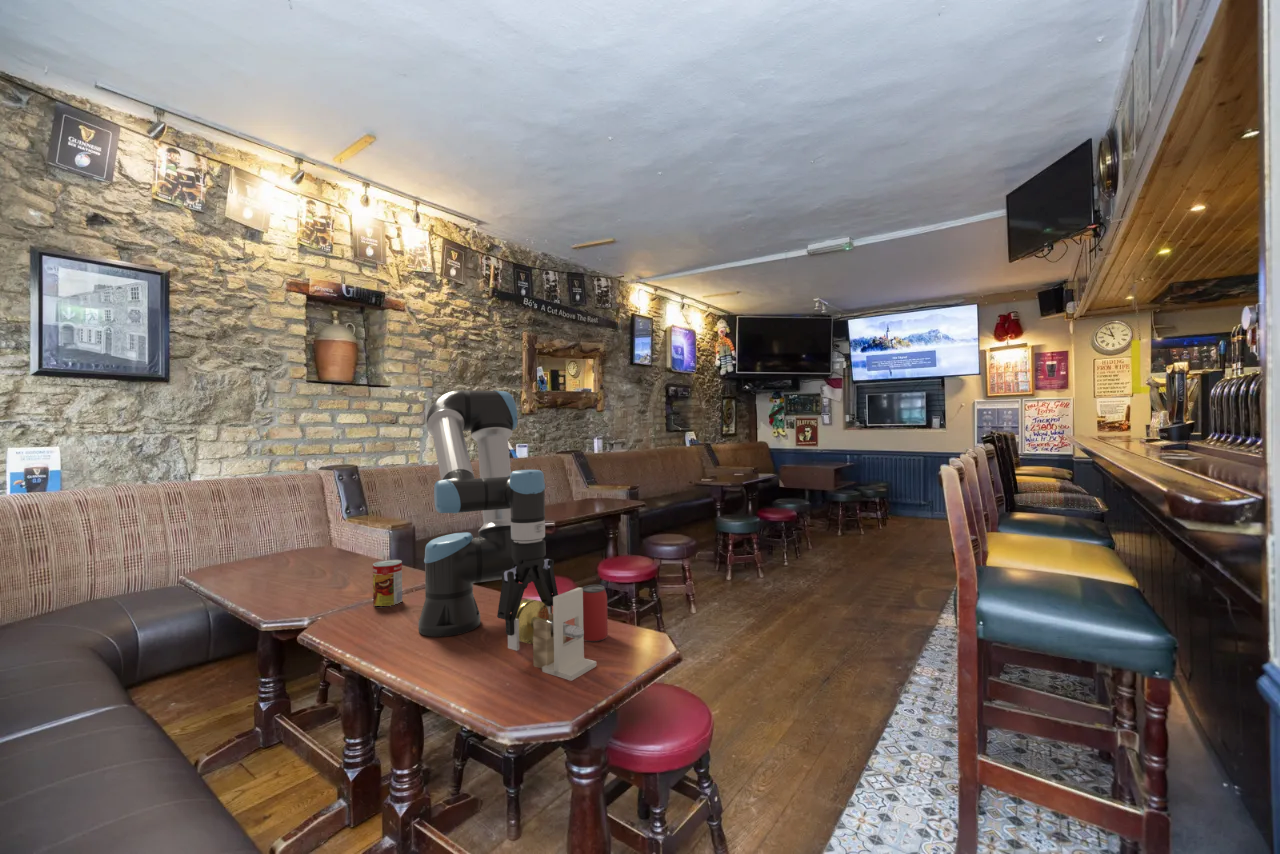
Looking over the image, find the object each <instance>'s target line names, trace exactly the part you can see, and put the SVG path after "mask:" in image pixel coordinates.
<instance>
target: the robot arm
mask: <svg viewBox="0 0 1280 854" xmlns="http://www.w3.org/2000/svg"><path fill="white" fill-rule="evenodd" d="M517 426H518V409H517V405H516V401H515V399H514V397H513V395H512V394H511V393H510V392H508V391H506V390H505V391H504V390H502V391H501V390H495V389H493V390H468V389H467V390H463V389H456V390H452V391H448V392H446V393H444V394H442V395H441V396H439V397H438V398H437V399H436V400H434V401H433V403H432V405H431V406H430V407H429V409H428V411H427V414H426V427H427V430H428V433H429V434H430V435H431V436H432V438H433V443H434V449H435V454H436V460H437V465H438V470H439V477H440V480H436V482H435V483H434V487H433V500H434V508H435V510H436V512H437V513H439V514H459V513H460V514H461V513H470V512H481V511H482V521H483V525H482V526H481V527H480V528H479V529H478V533H477V534H478V537H473V534H472V533H471V532H467V531H466V532H465V531H464V532H455V533H451V534H446V535H442V536H438V537H436V538H433V539H431V540H430V541H429V542H428V543H426V545H425V548H424V559H423V562H424V564H425V566H424V568H425V569H424V571H425V572H424V574H425V575H424V577H425V578H424V579H425V583H424V584H425V585H424V587H425V588H424V589H425V591H424V592H425V597H424V599H425V600H424V603H423V607H422V609H421V613H420V617H419V619H418V633H419V634H420V635H423V636H426V637H434V638H439V637H440V638H441V637H443V638H444V637H452V636H458V635H462V634H465V633H468V632H470V631H474V630H475V629H477V628H478V627H479V626H480V625H481V613H480V610H479V607H478V604H477V601H476V598H475V597H474V584H475V583H483V582H492V581H499V580H501V581H502V582H501V588H500V595H499V601H498V602H499V603H498V608H497V615H496V616H497V618H498V619H502V620H505V621H504V622H505V635H507V649H510V650H513V651H516V652H517V651H519V650H520V641H519V619H517V618H516V616H517V612H518V609H519V606H520V603H521V601H523V596H524V593H525V590H526V589H527V588H528V585H529V584H531V583H533V585H534V587H535V590H536V592H537V594H538V597H539V599H540V601H541V602H543V603H544V604H545V605H546V607H547V609H548V613H549V614H551V613H553V597H555V596H557V595H559V593H558V588H557V583H556V581H557V580H556V577H555V571H554V568H555V567H554V566H555V565H554V564H555V560H554V559H550V558H545V556H546V554H547V552H546V548H547V547H546V543H547V542H546V540H545V539H544V538H545V537H546V506H545V505H546V500H545V499H546V492H545V489H546V482H545V475H544V472H543V471H542V470H540V469H519V470H518V469H517V470H513V471H512V470H511V458H510V447H509V439H510V438H511V437H512V436H513V431H514V430H516V429H517ZM463 431H470V436H471V438H472V440H473V441H475V442H476V444H477V455H478V468H479V478H477V477H475V475H474V474H475V473H474V470H473V467H472V462H471V459H470V458H471V457H470V454H469V451H468V446H467V442H466V438H465V435H464V432H463Z"/></svg>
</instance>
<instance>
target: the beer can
mask: <svg viewBox="0 0 1280 854" xmlns="http://www.w3.org/2000/svg"><path fill="white" fill-rule="evenodd" d="M582 588H583V631H584V641H586V642H591V643H595V642H601V641H603V640H605V639H607V638H608V635H609V634H608V633H609V628H608V627H609V623H608V621H607V620H608V619H609V618H608V594H607V592H606V587H605V586H604V585H601V584H589V585H584V586H583V587H582Z"/></svg>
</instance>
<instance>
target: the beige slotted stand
mask: <svg viewBox="0 0 1280 854" xmlns="http://www.w3.org/2000/svg"><path fill="white" fill-rule="evenodd" d="M552 613H553V624H554V662H553V663H551V664H549V665H548V666H547V665H545V666H543V667H542V669H541V671H542V673H545V674H548V675H552V676H555V677H558V678H561V679H564V680H568V681H569V682H570V681H573V680H575V679H577V678H579V677H580V676H582V675H584V674H586V673H587V672H590V670H591V671H592V670H593V669H594V668H596V667H597V661H596V660H592V659H590V658H585V645H584V641H585V640H584V635H583V637H582V638H580V639H575V638H571V639H570V640H568V641H566V643H564V644H563V623H564V622H565V623H566V622H568V621H570V620H572V619H574V626H578V627H581V628H582V629H583V587H579V586H578V587H576V588H574V589H573V588H572V589H571V590H569V591H564V592H563V593H560V594H558V595H557V596H555V597H553V606H552Z"/></svg>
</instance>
